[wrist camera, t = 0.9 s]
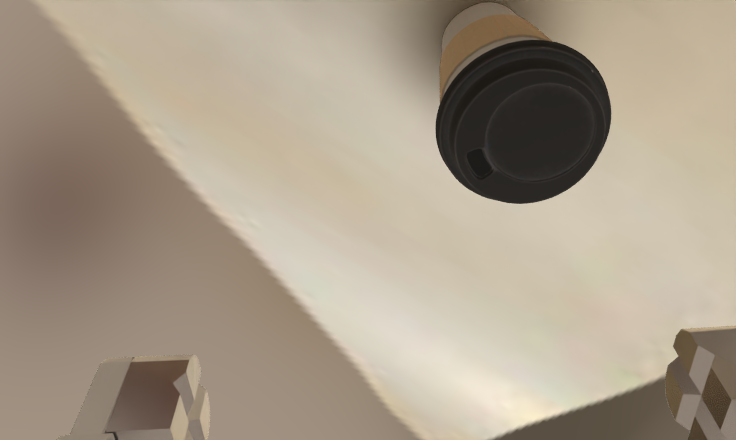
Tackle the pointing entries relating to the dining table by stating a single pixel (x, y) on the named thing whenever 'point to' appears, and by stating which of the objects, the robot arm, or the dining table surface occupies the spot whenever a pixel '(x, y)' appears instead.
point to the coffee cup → (516, 107)
